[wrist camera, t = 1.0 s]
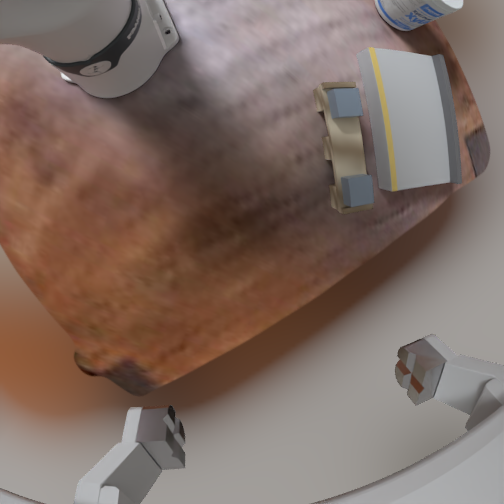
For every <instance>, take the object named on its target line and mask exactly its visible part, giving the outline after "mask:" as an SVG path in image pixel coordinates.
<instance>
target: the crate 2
mask: <svg viewBox="0 0 504 504" xmlns="http://www.w3.org/2000/svg"><path fill="white" fill-rule="evenodd" d="M341 184H342V192H343V201H344V204H345V205H347V206H350V207H355V206H360V205H365V204H371V203H374V194H373V183H372V175H367V174H358V175H351V176H344V177H341Z"/></svg>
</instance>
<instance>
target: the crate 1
mask: <svg viewBox="0 0 504 504" xmlns="http://www.w3.org/2000/svg"><path fill="white" fill-rule="evenodd" d="M327 96H328V101H329V106H330V112H331V117H332V119H335V118H349V117H358V116H363V111H362V105H361V100H360V95H359V90H358V88H341V89H332V90H330V91H328V92H327Z"/></svg>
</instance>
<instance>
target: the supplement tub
mask: <svg viewBox="0 0 504 504" xmlns="http://www.w3.org/2000/svg"><path fill="white" fill-rule="evenodd" d="M375 5H376V8H377V10H378V12H379V14H380V15H381V16H382V18H383V19H384V20H385V21H386V22H387V23H389V24H390V25H391V26H393V27H394V28H396V29H399V30H402V31H410V30H413V29H415V28H417V27H419V26H422V25H424V24H426V23H428V22H431V21H433V20H435V19H438V18H440V17H443V16H445V15H448V14H450V13H453V12H455V11H457V10H459V9H461V8H462V6H463V0H375Z"/></svg>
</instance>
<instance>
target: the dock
mask: <svg viewBox="0 0 504 504" xmlns="http://www.w3.org/2000/svg"><path fill="white" fill-rule="evenodd" d="M356 55H357V59H358V63H359V67H360V72H361V76H362V81H363V85H364V90H365V95H366V100H367V106H368V111H369V117H370V123H371V129H372V136H373V143H374V151H375V158H376V167H377V177H378V187H379V188H380V189H384V190H388V191H398V190H404V189H410V188H416V187H422V186H429V185H435V184H442V183H449V182H451V183H456V184H460V183H462V178H461V160H460V148H459V138H458V129H457V122H456V115H455V108H454V102H453V97H452V91H451V86H450V82H449V77H448V73H447V68H446V64H445V60H444V56H443V55H440V54H437V55H434V56H428V55H422V54H417V53H410V52H404V51H397V50H389V49H379V48H371V47H368V48H366V49H364V50H362V51H361V52H359V53H357V54H356Z"/></svg>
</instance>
